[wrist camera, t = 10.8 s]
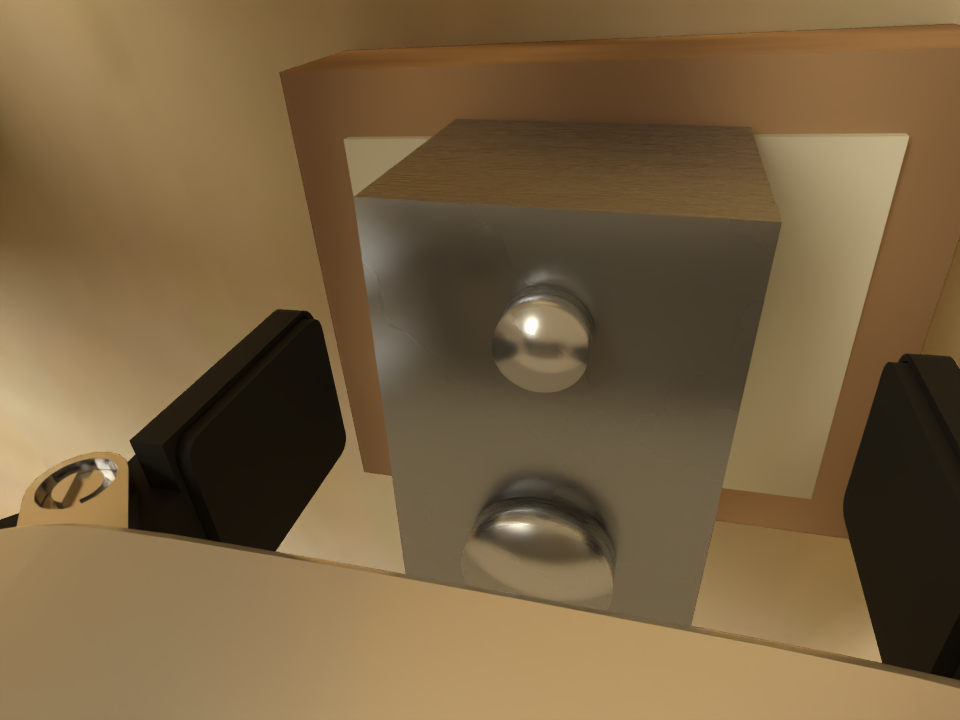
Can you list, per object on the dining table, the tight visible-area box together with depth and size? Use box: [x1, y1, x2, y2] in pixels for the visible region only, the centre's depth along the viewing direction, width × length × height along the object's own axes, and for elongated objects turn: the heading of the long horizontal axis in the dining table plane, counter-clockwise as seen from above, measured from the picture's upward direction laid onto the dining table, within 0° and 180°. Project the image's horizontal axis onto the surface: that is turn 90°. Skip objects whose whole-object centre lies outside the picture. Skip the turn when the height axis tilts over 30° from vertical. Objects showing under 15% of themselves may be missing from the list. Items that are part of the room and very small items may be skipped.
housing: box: [354, 119, 782, 626], centre depth 11 cm, size 8×5×5 cm, turn 2°
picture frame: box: [279, 24, 960, 539], centre depth 15 cm, size 12×10×3 cm
